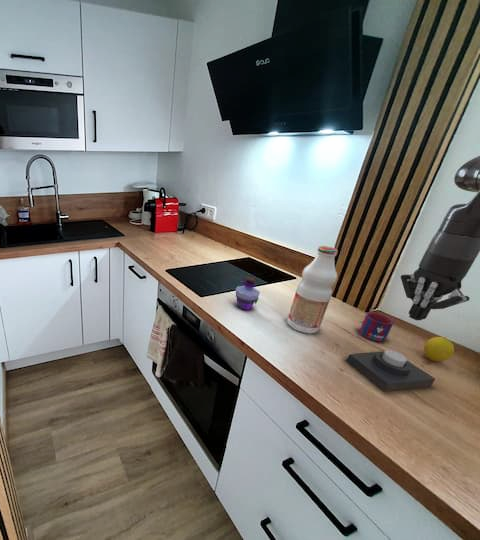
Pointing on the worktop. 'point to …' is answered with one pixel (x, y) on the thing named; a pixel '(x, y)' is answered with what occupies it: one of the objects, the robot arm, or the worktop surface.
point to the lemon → (438, 348)
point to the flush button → (394, 358)
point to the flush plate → (389, 372)
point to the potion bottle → (247, 294)
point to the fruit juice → (314, 292)
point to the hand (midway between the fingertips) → (415, 318)
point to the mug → (376, 327)
